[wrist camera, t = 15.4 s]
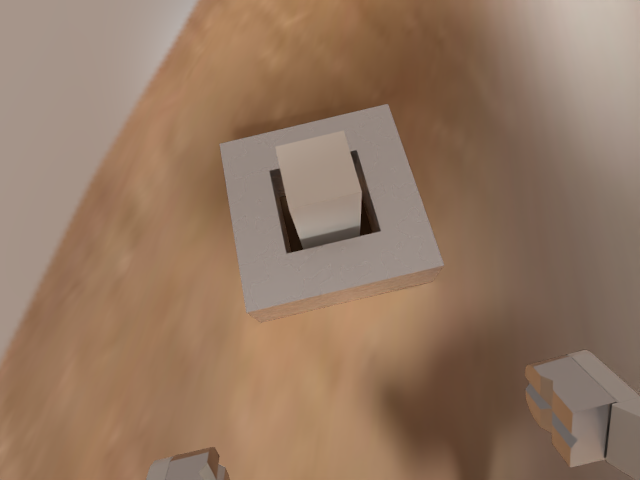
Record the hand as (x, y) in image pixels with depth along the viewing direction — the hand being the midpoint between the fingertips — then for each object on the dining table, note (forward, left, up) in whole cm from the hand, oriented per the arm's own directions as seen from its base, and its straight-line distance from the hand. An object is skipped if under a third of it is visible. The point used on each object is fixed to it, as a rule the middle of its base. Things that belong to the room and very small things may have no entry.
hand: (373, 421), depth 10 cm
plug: (+12, -1, -16) cm, 20 cm away
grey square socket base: (+12, -1, -16) cm, 20 cm away
